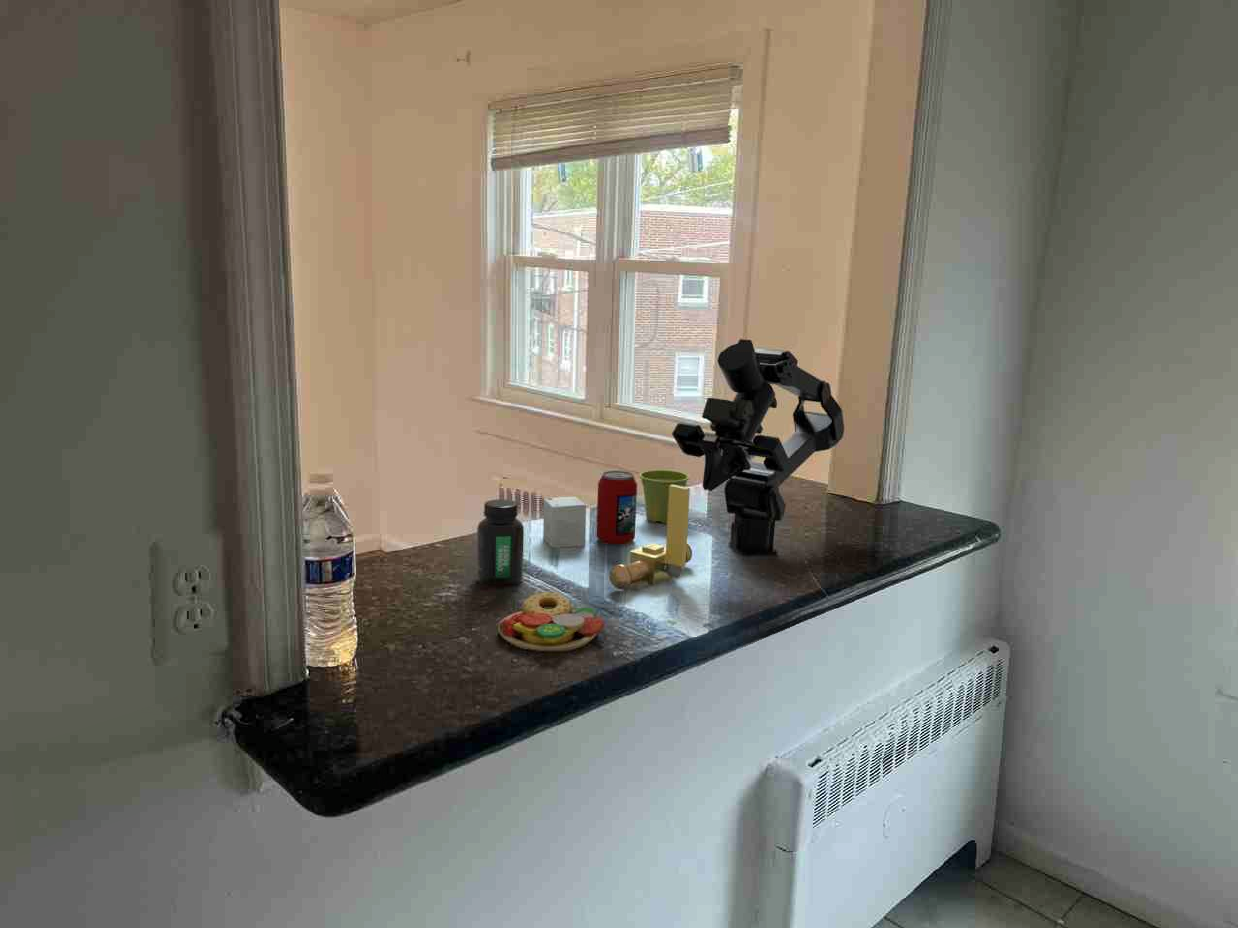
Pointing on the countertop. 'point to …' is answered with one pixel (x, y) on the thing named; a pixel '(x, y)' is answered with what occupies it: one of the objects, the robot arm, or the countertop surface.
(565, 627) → the toy food set
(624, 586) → the valve body
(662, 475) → the plant pot
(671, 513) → the lever
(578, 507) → the skincare box
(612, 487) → the beverage can
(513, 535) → the supplement bottle
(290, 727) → the countertop surface
